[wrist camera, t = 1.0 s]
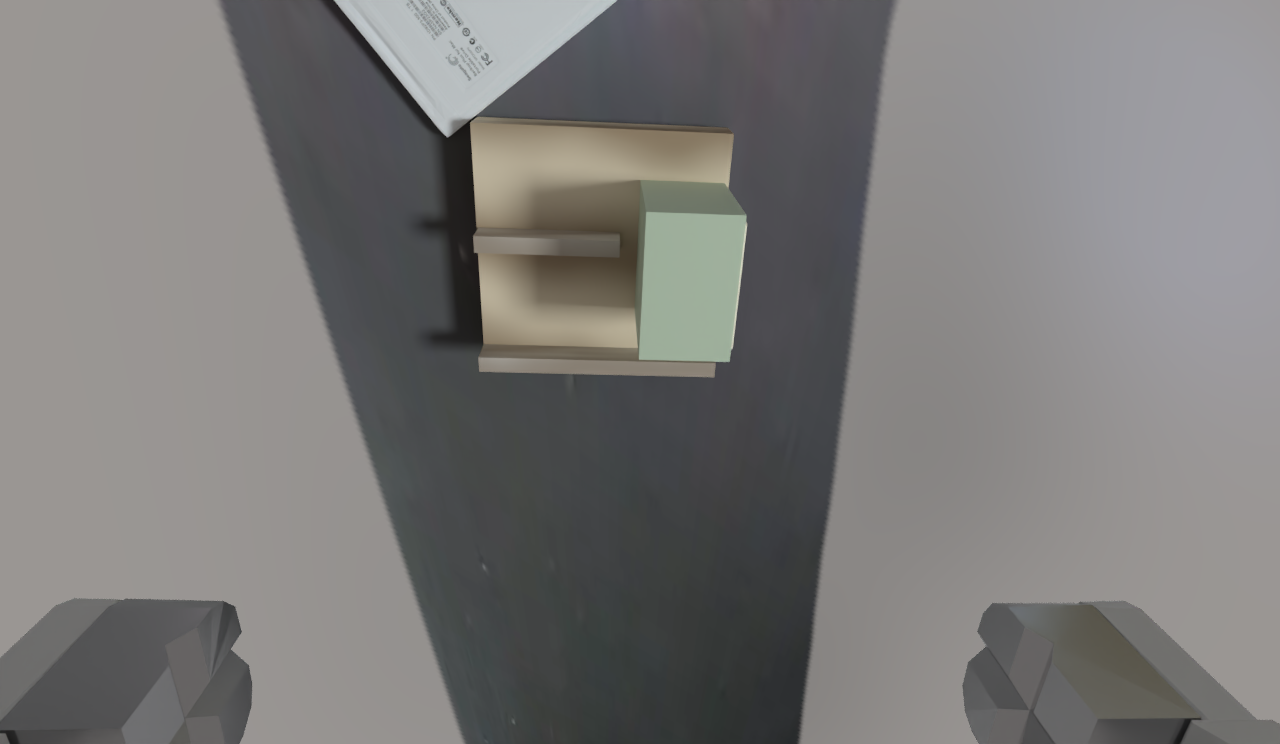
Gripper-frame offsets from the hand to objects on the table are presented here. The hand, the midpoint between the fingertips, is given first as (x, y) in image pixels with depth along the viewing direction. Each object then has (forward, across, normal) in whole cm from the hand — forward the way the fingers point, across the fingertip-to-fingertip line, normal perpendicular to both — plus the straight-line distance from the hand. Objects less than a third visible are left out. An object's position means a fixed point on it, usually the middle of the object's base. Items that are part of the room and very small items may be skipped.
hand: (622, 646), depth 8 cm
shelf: (+30, 0, +1) cm, 30 cm away
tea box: (+28, -4, +2) cm, 28 cm away
